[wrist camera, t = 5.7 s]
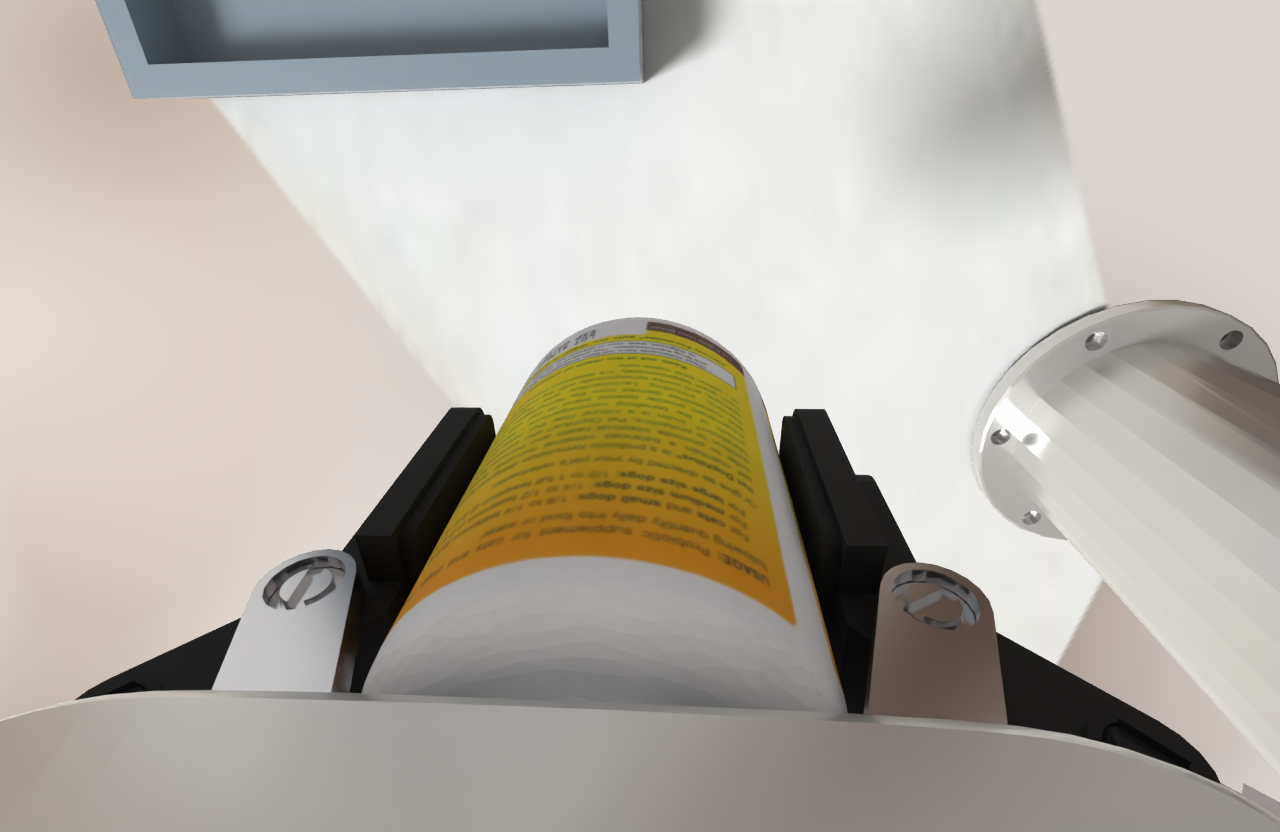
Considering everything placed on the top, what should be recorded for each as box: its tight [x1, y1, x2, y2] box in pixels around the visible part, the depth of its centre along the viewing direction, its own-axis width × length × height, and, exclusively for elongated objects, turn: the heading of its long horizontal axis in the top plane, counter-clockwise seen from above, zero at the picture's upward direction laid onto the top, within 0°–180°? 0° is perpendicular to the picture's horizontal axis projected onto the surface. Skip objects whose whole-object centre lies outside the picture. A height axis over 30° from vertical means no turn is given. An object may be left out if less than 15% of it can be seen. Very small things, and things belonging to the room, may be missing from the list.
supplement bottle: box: [362, 317, 848, 713], centre depth 9 cm, size 6×6×10 cm
